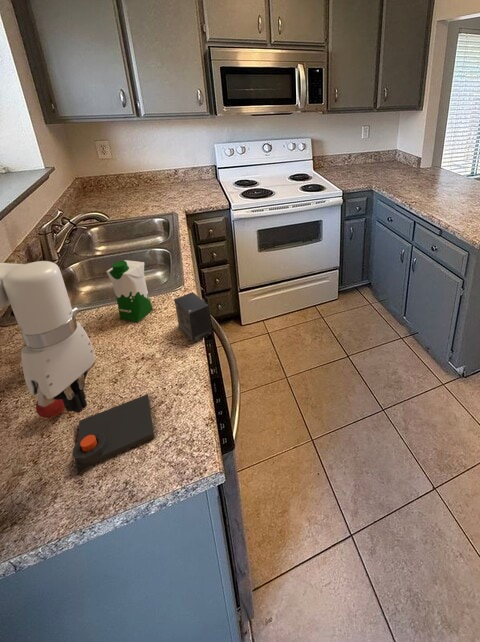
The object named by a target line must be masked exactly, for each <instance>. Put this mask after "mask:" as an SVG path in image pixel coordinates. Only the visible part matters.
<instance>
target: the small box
mask: <svg viewBox="0 0 480 642" xmlns="http://www.w3.org/2000/svg"><path fill="white" fill-rule="evenodd" d="M173 302H174V306H175V312H176V318H177V324H178V328H179V330H180V331H181V332H182V333H183V334H184V335H185V337H187V338H188V340H189V341H190V342H191V343H192V344H194V343H196V342H199V341H201V340H203V339H205V338H207V337H209V336H211V335H212V334H213V332H212V324H211V319H210V317H211V316H210V310H209V304H208V303H206V302H205V301H204V300H203V299H201V297H200V296H198V295H197V294H196V293H195V292H193V291H192V292H188V293H186V294H184V295H182V296H179V297H176V298H174V299H173Z"/></svg>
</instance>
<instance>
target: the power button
mask: <svg viewBox="0 0 480 642" xmlns="http://www.w3.org/2000/svg"><path fill="white" fill-rule="evenodd" d="M80 445H81V448H82V451H83V452H89V451H91V450H92V449H94V448H95V447H96V445H97V441H96V437H95V436H94V435H88V436H86V437H85V438H83V440H82V441H81V443H80Z"/></svg>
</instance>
